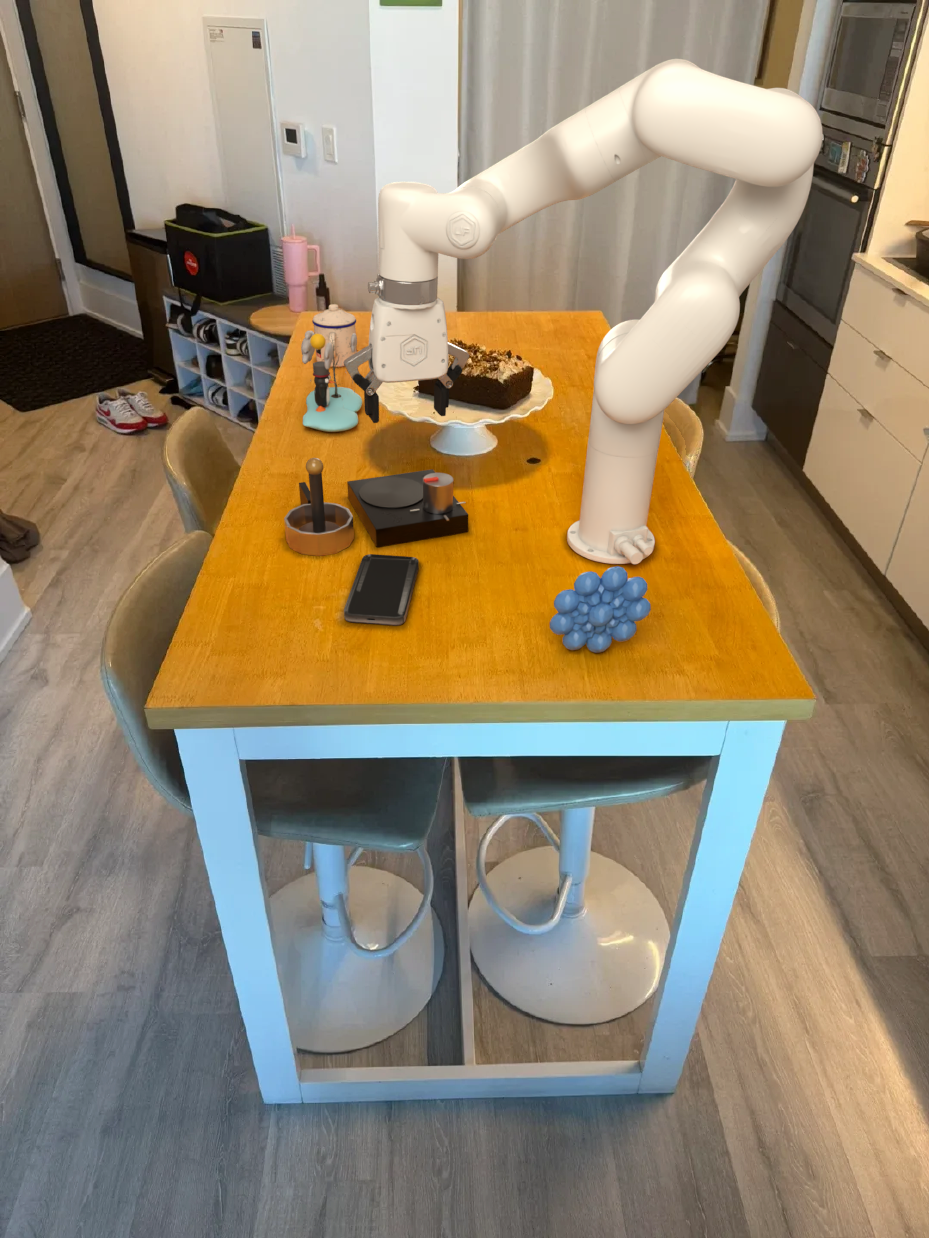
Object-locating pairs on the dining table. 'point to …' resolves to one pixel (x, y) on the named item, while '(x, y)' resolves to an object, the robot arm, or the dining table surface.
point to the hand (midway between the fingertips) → (406, 416)
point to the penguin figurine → (328, 390)
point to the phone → (382, 590)
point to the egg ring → (325, 540)
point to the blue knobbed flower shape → (600, 609)
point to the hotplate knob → (438, 493)
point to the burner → (391, 492)
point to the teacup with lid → (335, 332)
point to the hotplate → (406, 516)
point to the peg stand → (317, 499)
